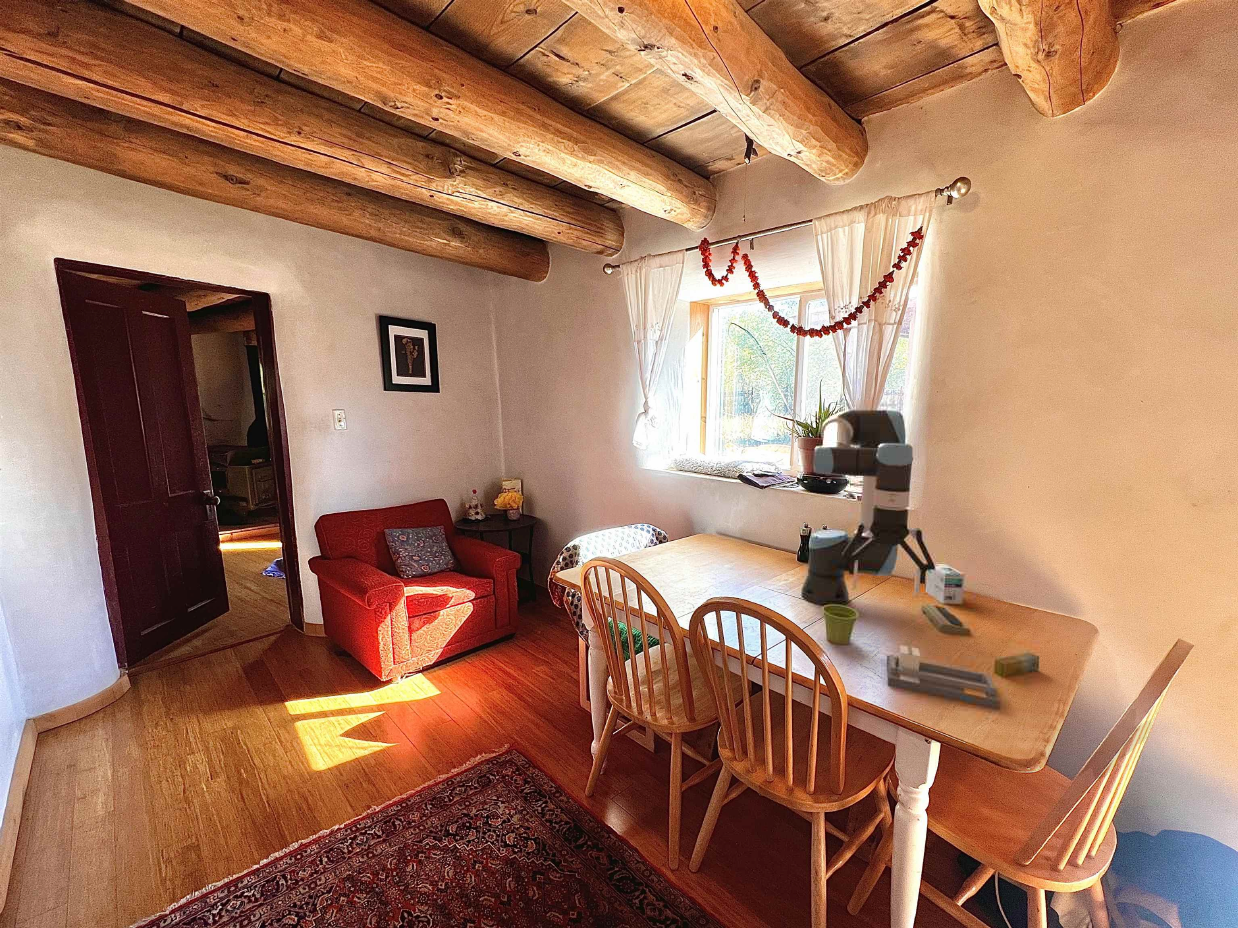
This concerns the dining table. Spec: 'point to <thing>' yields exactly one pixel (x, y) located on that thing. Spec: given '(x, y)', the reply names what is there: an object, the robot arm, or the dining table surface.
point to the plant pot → (839, 623)
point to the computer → (944, 619)
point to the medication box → (1016, 665)
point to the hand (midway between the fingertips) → (884, 591)
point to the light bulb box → (945, 584)
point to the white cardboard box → (909, 658)
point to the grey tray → (944, 682)
